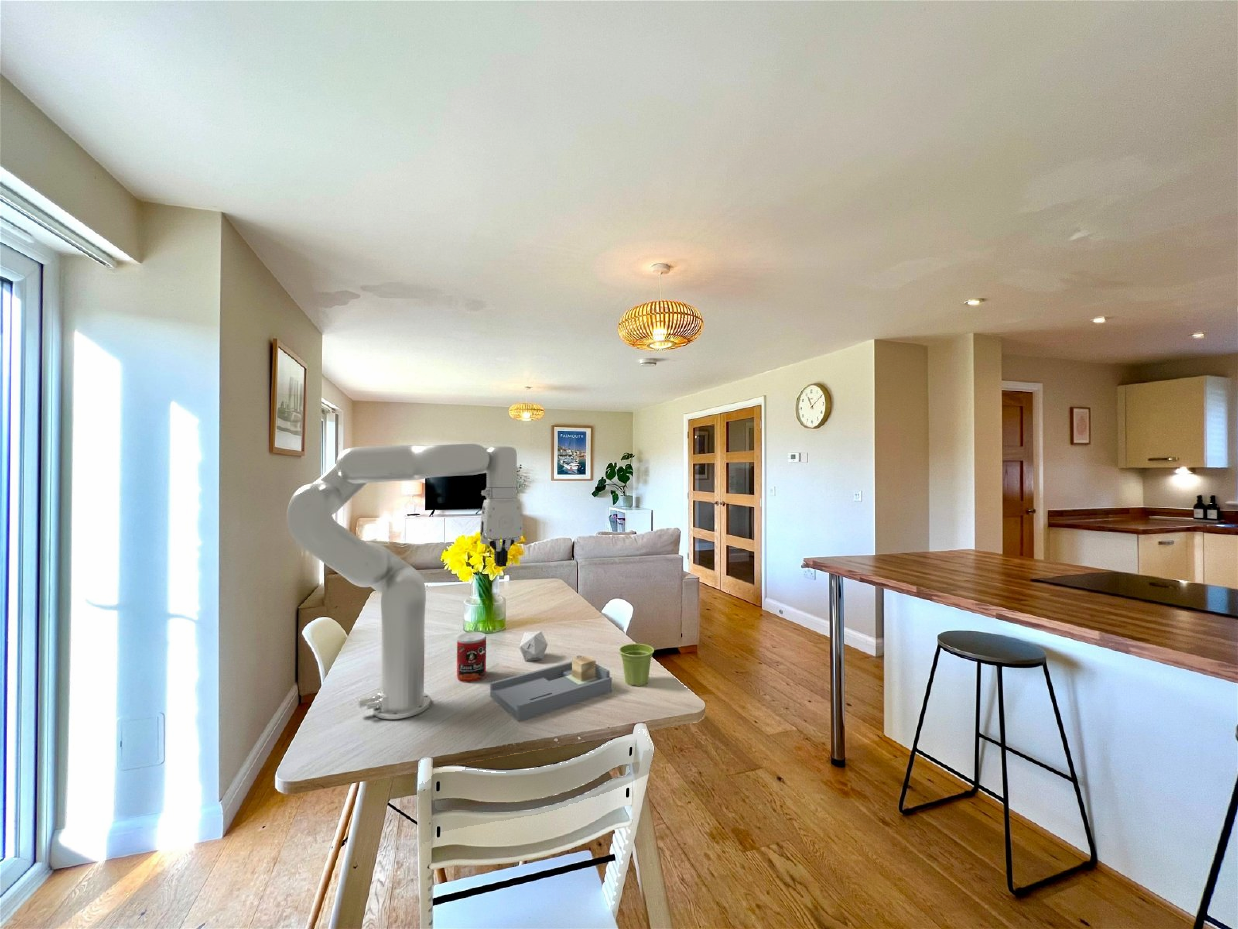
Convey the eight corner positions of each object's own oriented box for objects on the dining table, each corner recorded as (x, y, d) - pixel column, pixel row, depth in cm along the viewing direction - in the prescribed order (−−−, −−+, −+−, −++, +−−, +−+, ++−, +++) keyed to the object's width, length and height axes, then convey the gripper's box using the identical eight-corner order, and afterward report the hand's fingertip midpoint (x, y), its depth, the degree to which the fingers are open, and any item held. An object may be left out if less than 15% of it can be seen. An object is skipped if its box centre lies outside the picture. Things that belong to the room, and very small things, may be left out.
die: (513, 660, 152) (514, 640, 147) (528, 639, 159) (530, 619, 153) (536, 672, 150) (538, 653, 145) (551, 650, 157) (553, 631, 151)
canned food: (456, 684, 133) (456, 642, 133) (457, 672, 141) (457, 633, 141) (486, 681, 135) (486, 639, 135) (485, 669, 143) (486, 630, 143)
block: (581, 681, 130) (581, 664, 130) (571, 676, 133) (572, 659, 134) (595, 677, 133) (595, 660, 133) (586, 672, 136) (586, 655, 136)
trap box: (519, 721, 113) (519, 699, 113) (490, 696, 125) (490, 676, 126) (611, 691, 129) (611, 672, 129) (577, 672, 141) (577, 654, 141)
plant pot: (632, 692, 128) (632, 658, 129) (612, 679, 136) (612, 647, 136) (661, 684, 133) (661, 651, 134) (640, 672, 141) (640, 641, 142)
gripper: (479, 495, 122) (478, 571, 121) (534, 494, 131) (533, 565, 130) (467, 494, 128) (467, 567, 127) (521, 493, 137) (520, 561, 136)
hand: (500, 565), depth 129 cm, fingers closed
